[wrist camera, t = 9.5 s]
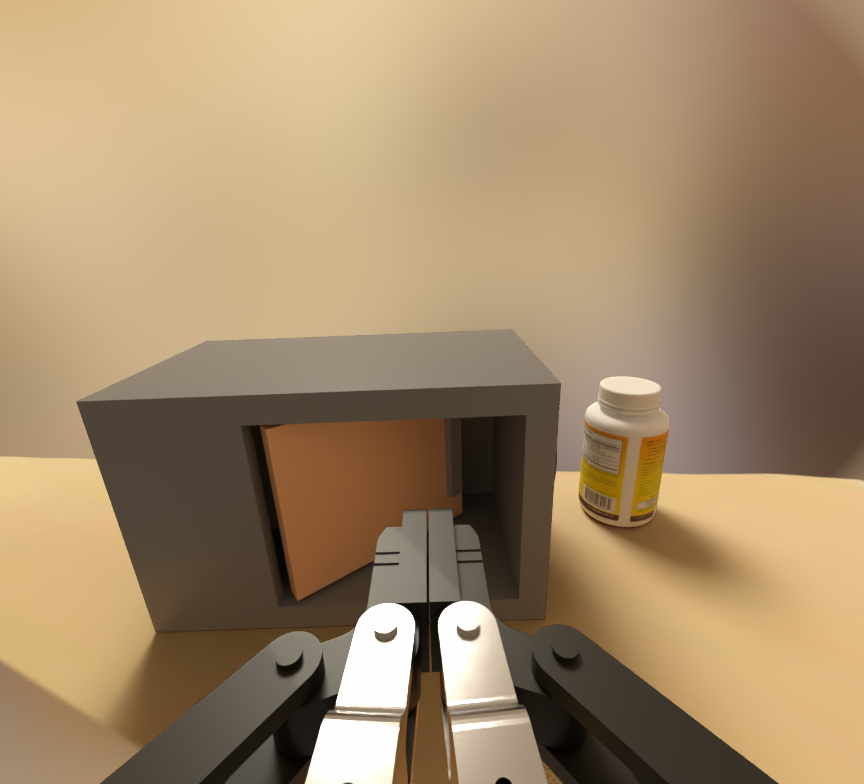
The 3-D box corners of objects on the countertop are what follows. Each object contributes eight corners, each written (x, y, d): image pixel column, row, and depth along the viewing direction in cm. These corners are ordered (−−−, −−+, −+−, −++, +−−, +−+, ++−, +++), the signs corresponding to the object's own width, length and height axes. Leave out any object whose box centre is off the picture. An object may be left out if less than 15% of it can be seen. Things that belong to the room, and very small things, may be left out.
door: (302, 607, 23) (270, 434, 20) (291, 590, 24) (259, 423, 21) (468, 516, 30) (466, 376, 27) (453, 506, 31) (449, 370, 28)
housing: (155, 632, 24) (76, 401, 19) (242, 506, 35) (205, 341, 31) (562, 618, 24) (583, 382, 19) (520, 496, 35) (526, 328, 31)
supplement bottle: (648, 493, 35) (666, 374, 32) (661, 536, 30) (684, 401, 27) (576, 484, 37) (586, 370, 33) (577, 524, 32) (589, 395, 28)
